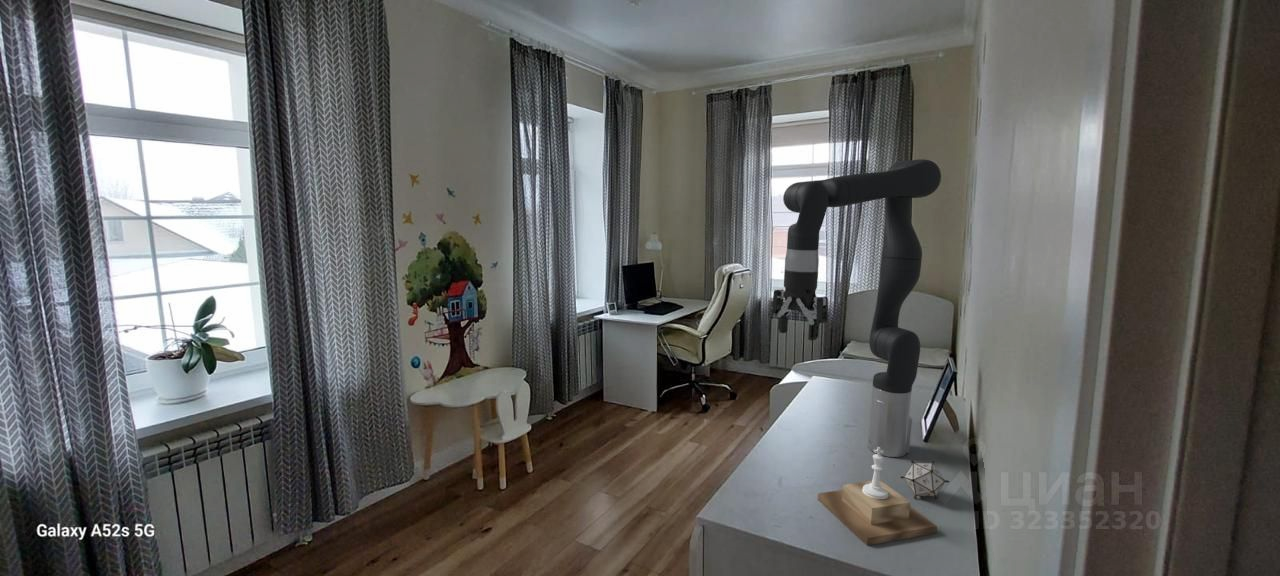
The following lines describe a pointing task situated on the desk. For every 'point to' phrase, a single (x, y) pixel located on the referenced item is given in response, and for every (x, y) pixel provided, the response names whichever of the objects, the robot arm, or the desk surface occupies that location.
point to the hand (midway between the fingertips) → (797, 336)
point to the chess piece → (876, 479)
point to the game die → (924, 479)
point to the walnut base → (876, 529)
